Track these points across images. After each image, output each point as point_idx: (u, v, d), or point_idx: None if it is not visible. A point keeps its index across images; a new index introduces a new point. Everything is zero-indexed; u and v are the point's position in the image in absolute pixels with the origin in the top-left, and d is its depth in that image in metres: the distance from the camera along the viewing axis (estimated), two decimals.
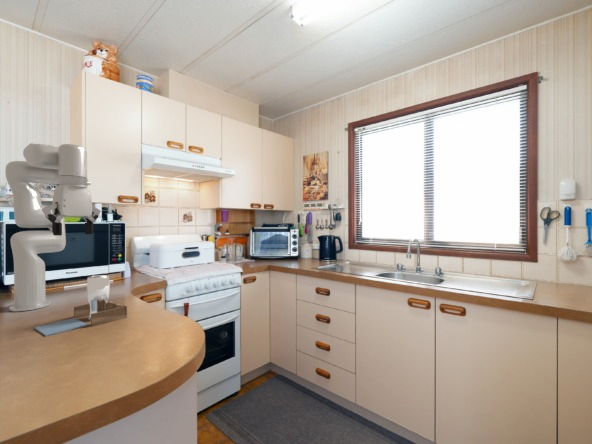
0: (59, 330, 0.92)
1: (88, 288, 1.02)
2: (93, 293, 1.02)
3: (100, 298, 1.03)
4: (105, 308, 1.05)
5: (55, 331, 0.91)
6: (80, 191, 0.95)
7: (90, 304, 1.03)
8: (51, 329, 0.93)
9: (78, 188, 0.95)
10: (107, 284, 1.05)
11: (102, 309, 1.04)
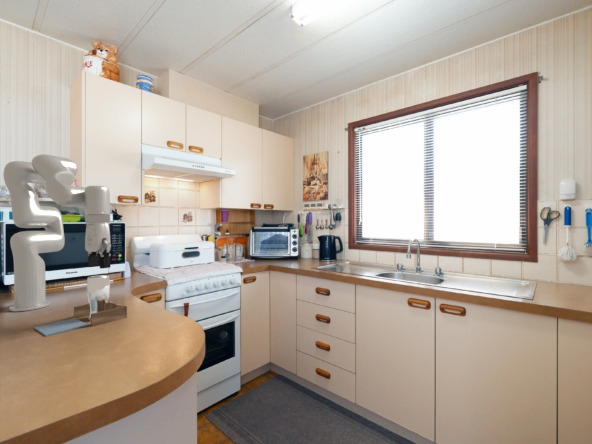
0: (59, 330, 0.92)
1: (88, 288, 1.02)
2: (93, 293, 1.02)
3: (100, 298, 1.03)
4: (105, 308, 1.05)
5: (55, 331, 0.91)
6: None
7: (90, 304, 1.03)
8: (51, 329, 0.93)
9: None
10: (107, 284, 1.05)
11: (102, 309, 1.04)
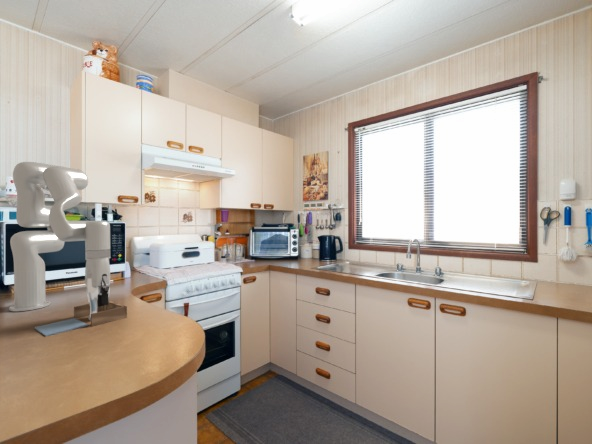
0: (59, 330, 0.92)
1: (88, 288, 1.02)
2: (93, 293, 1.02)
3: None
4: (105, 308, 1.05)
5: (55, 331, 0.91)
6: None
7: (90, 304, 1.03)
8: (51, 329, 0.93)
9: None
10: None
11: (102, 309, 1.04)
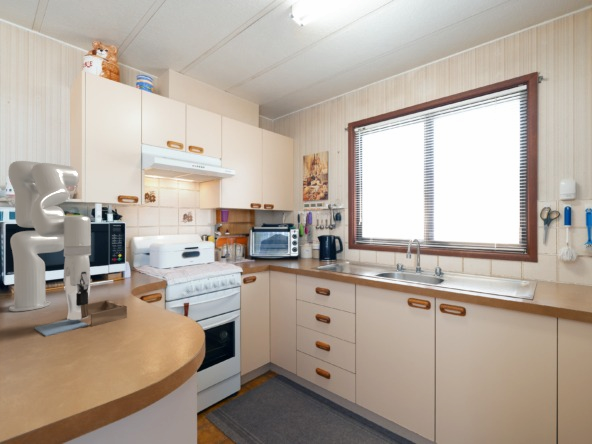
0: (59, 330, 0.92)
1: (66, 286, 0.97)
2: (72, 292, 0.97)
3: None
4: (85, 307, 1.00)
5: (55, 331, 0.91)
6: None
7: (68, 303, 0.98)
8: (51, 329, 0.93)
9: None
10: None
11: (82, 309, 0.99)
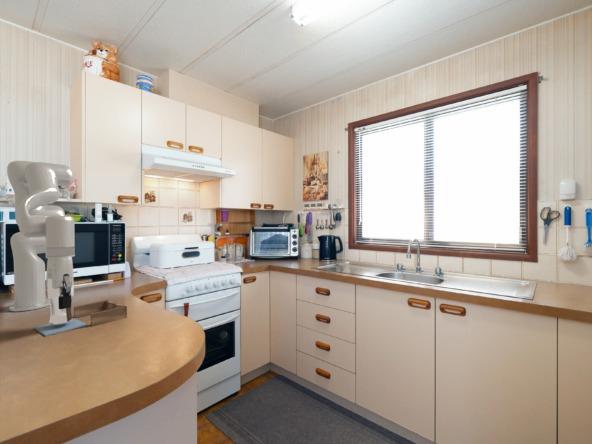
0: (59, 330, 0.92)
1: (48, 289, 0.93)
2: (53, 295, 0.93)
3: None
4: (68, 311, 0.96)
5: (55, 331, 0.91)
6: None
7: (51, 307, 0.94)
8: (51, 329, 0.93)
9: None
10: None
11: (65, 312, 0.95)
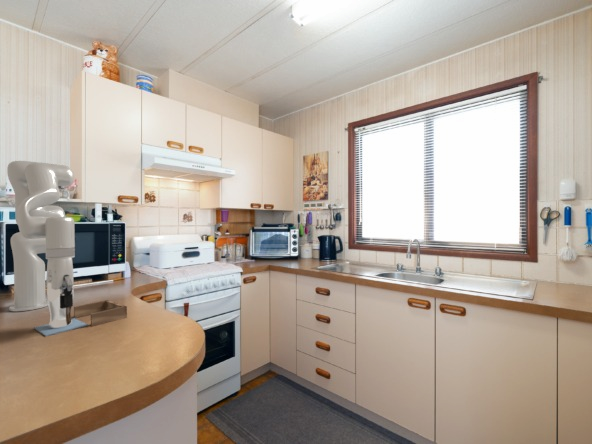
0: (59, 330, 0.92)
1: (48, 293, 0.93)
2: (53, 299, 0.93)
3: None
4: (67, 315, 0.96)
5: (55, 331, 0.91)
6: None
7: (50, 311, 0.94)
8: (51, 329, 0.93)
9: None
10: None
11: (64, 316, 0.95)
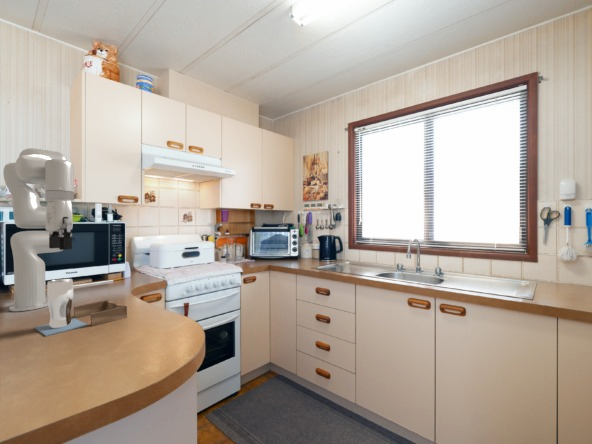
0: (59, 330, 0.92)
1: (48, 293, 0.93)
2: (53, 299, 0.93)
3: (61, 304, 0.94)
4: (67, 315, 0.96)
5: (55, 331, 0.91)
6: None
7: (50, 311, 0.94)
8: (51, 329, 0.93)
9: None
10: (70, 289, 0.96)
11: (64, 316, 0.95)
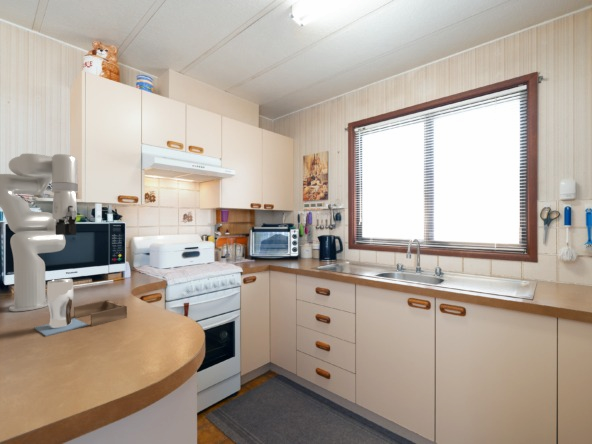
0: (59, 330, 0.92)
1: (48, 293, 0.93)
2: (53, 299, 0.93)
3: (61, 304, 0.94)
4: (67, 315, 0.96)
5: (55, 331, 0.91)
6: None
7: (50, 311, 0.94)
8: (51, 329, 0.93)
9: None
10: (70, 289, 0.96)
11: (64, 316, 0.95)
